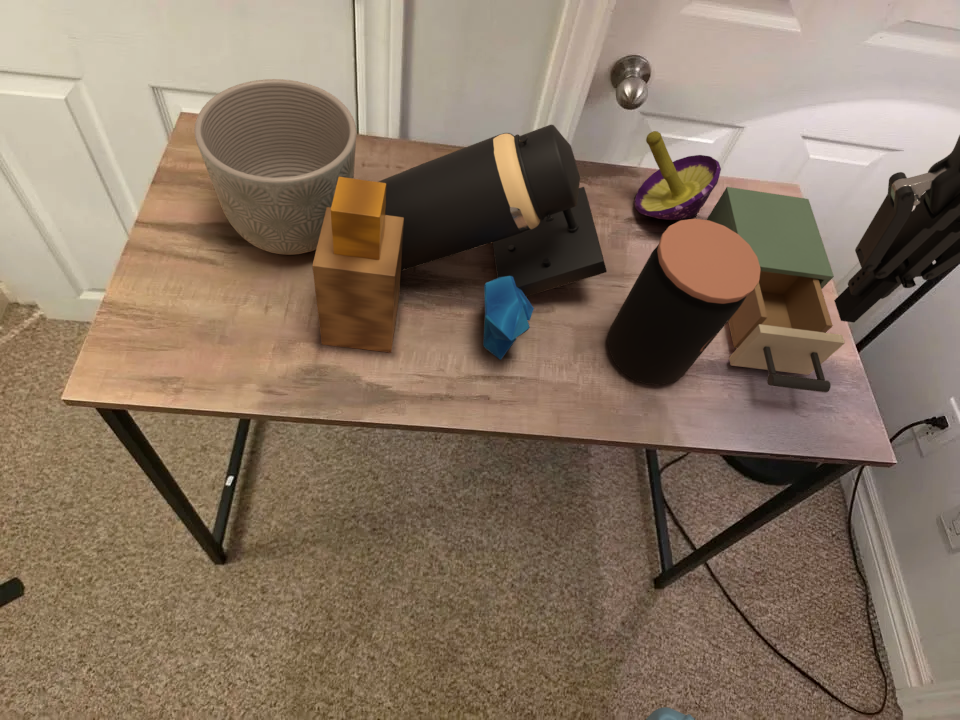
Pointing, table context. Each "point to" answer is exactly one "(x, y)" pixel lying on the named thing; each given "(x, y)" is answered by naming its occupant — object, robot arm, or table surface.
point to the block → (358, 218)
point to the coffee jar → (682, 300)
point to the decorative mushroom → (676, 183)
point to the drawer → (785, 331)
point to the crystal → (504, 315)
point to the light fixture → (501, 209)
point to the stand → (358, 290)
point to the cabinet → (776, 231)
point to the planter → (276, 159)
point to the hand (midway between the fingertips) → (844, 311)
